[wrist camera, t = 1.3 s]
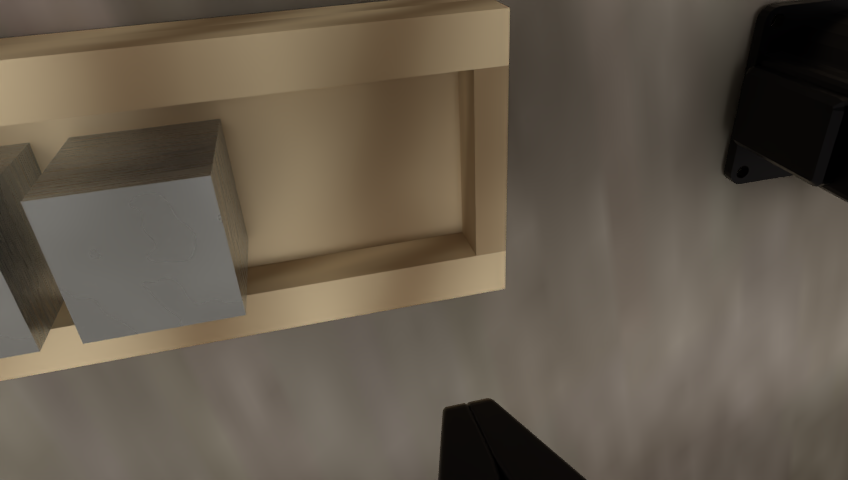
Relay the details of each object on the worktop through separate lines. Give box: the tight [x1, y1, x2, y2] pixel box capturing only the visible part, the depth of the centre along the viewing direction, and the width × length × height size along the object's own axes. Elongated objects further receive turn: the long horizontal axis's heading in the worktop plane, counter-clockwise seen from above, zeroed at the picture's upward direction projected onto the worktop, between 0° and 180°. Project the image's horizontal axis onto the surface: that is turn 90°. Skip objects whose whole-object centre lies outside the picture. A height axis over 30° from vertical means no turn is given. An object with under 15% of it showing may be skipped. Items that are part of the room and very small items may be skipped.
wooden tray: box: [0, 0, 510, 381], centre depth 18 cm, size 18×9×3 cm, turn 93°
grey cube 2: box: [21, 119, 249, 344], centre depth 16 cm, size 4×4×4 cm
